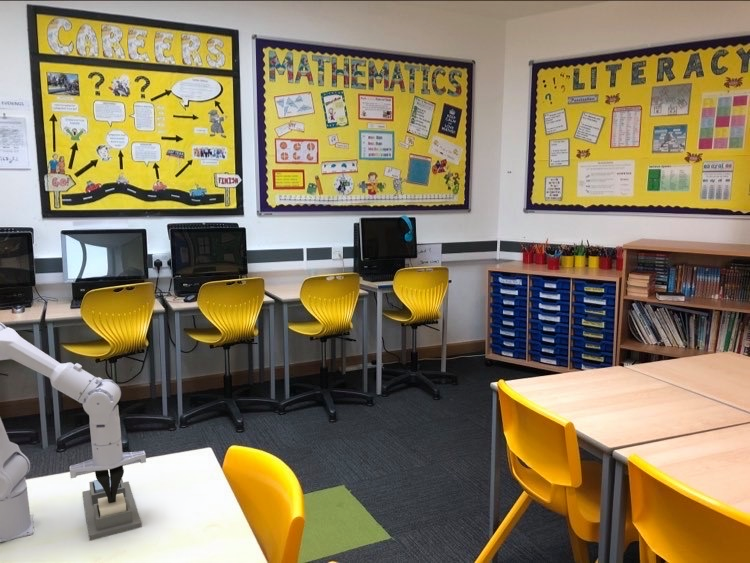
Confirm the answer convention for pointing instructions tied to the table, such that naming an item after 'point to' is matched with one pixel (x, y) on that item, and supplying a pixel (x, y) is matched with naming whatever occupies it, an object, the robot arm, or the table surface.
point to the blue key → (98, 486)
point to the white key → (111, 505)
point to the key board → (111, 522)
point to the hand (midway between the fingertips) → (111, 500)
